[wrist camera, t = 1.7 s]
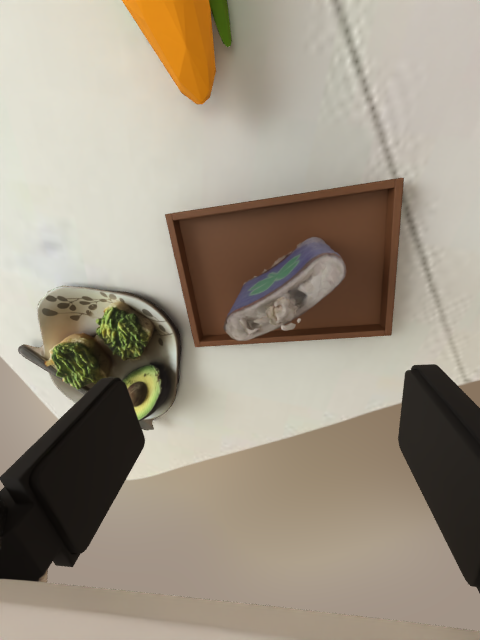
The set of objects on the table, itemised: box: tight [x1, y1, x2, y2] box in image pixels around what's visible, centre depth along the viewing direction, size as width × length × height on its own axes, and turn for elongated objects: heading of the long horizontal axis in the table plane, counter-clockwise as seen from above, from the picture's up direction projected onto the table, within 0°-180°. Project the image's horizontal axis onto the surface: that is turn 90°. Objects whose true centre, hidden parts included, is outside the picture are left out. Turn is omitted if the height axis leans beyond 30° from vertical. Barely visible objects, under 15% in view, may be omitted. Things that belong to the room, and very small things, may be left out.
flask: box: [223, 237, 346, 341], centre depth 21 cm, size 9×3×11 cm, turn 127°
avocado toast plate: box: [18, 286, 181, 430], centre depth 31 cm, size 19×18×5 cm
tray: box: [165, 178, 404, 347], centre depth 25 cm, size 19×13×2 cm
